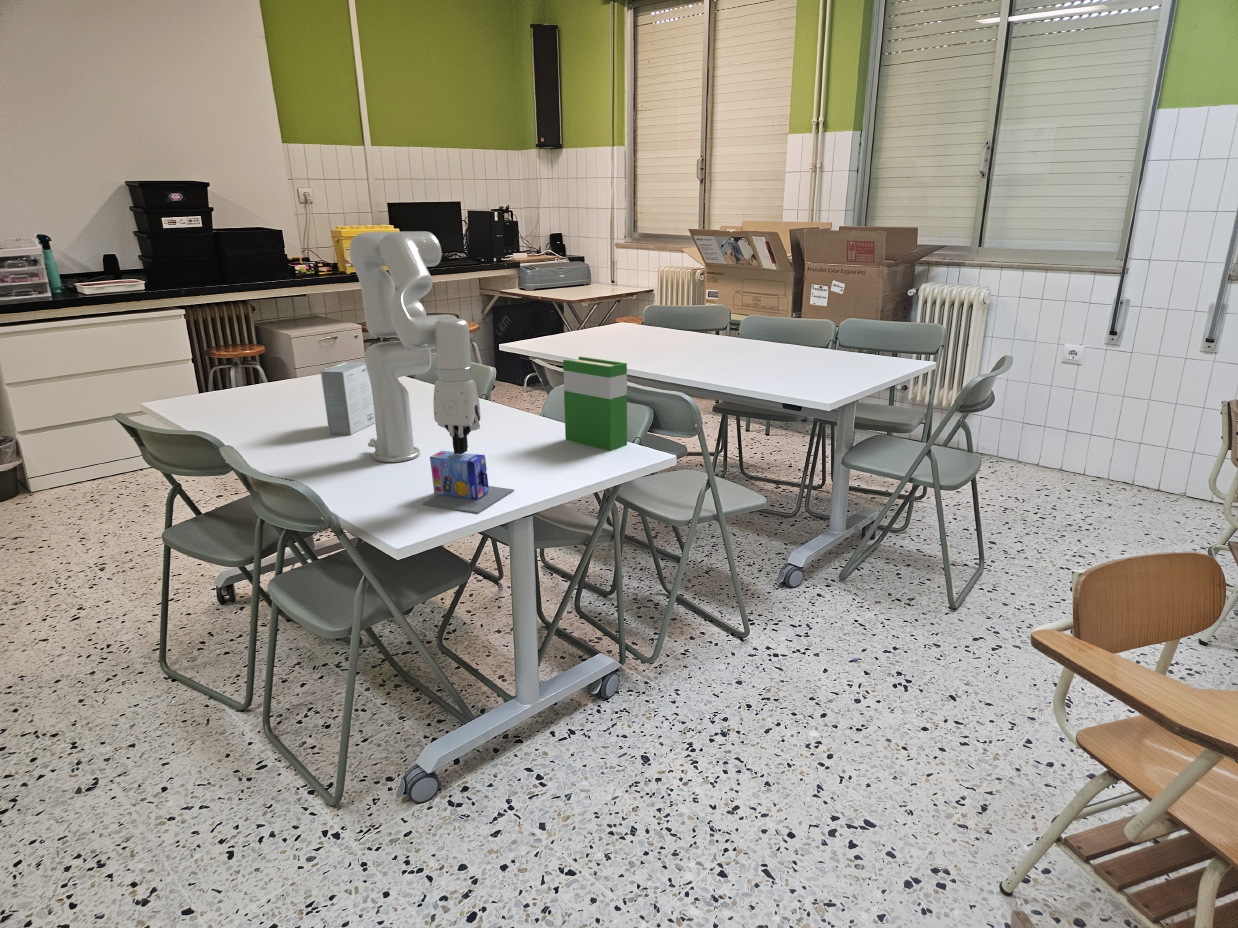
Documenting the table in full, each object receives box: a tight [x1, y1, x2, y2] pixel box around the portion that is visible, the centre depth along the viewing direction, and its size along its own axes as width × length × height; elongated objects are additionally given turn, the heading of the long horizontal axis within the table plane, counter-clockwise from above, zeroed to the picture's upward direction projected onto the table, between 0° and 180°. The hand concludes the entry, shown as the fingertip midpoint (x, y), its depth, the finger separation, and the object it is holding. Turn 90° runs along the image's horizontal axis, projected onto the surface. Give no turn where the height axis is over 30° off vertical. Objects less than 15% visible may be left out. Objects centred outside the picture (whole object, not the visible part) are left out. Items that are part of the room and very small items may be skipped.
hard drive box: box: [320, 361, 375, 436], centre depth 237 cm, size 16×8×20 cm, turn 168°
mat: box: [422, 485, 515, 515], centre depth 180 cm, size 15×16×1 cm
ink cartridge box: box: [429, 450, 490, 500], centre depth 179 cm, size 10×6×14 cm
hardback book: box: [562, 356, 628, 452], centre depth 220 cm, size 18×7×24 cm, turn 50°
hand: (460, 452), depth 177 cm, fingers closed
